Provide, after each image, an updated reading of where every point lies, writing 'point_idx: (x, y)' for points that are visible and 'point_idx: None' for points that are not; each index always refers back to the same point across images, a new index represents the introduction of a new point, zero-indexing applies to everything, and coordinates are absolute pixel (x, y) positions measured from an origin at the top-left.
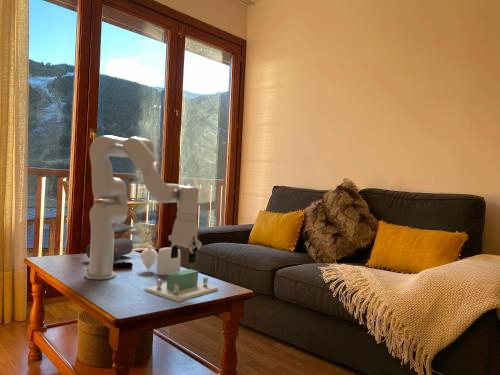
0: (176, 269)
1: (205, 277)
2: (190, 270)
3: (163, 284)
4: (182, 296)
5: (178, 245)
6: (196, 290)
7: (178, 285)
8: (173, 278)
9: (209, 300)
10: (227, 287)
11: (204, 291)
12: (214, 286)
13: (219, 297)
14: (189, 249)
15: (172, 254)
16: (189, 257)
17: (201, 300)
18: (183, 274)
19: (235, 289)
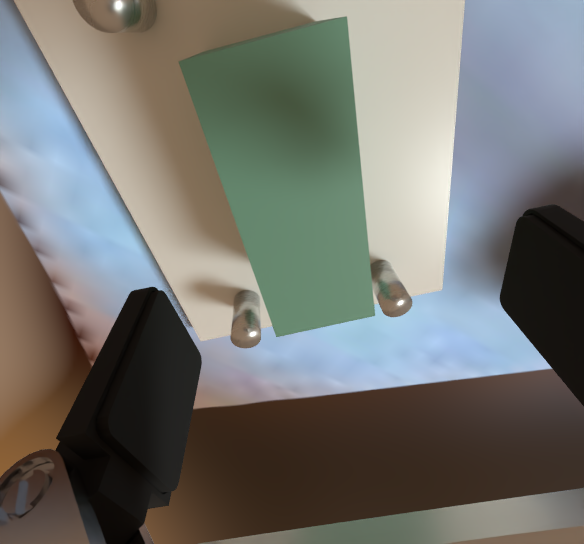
0: None
1: (249, 339)
2: (328, 303)
3: (440, 79)
4: (47, 22)
5: (481, 525)
6: (181, 216)
7: (80, 13)
8: (235, 45)
9: (14, 202)
10: (227, 377)
11: (151, 250)
12: (221, 334)
13: (69, 278)
14: (77, 534)
15: (565, 247)
16: (106, 354)
17: (21, 156)
18: (225, 182)
19: None
